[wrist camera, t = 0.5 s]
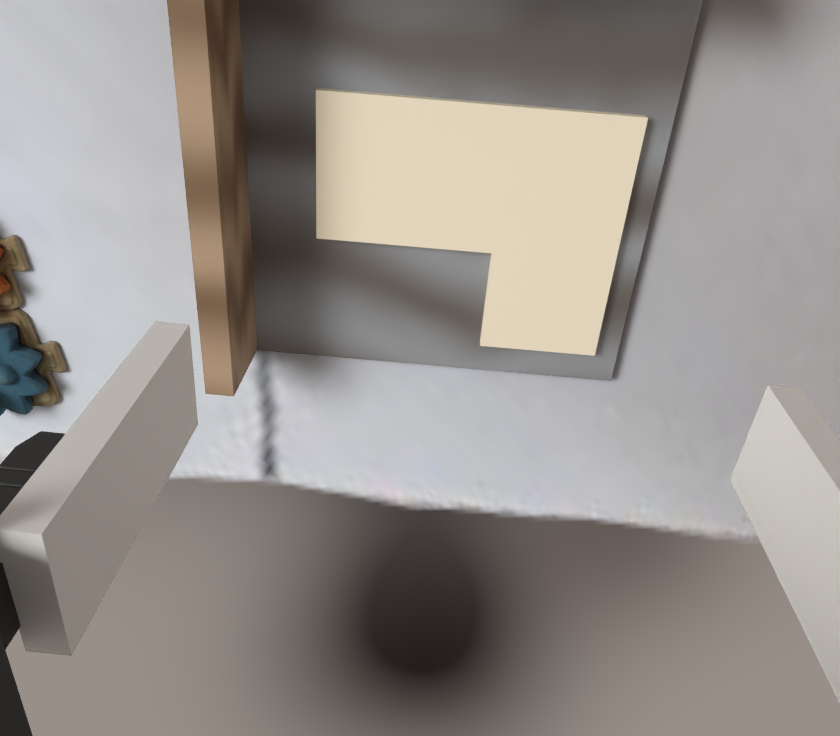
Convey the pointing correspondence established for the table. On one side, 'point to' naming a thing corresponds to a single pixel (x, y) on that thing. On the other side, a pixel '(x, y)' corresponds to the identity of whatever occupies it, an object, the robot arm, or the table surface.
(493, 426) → the table surface
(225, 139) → the arena
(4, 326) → the gear puzzle
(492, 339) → the pad
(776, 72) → the table surface
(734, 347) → the table surface
